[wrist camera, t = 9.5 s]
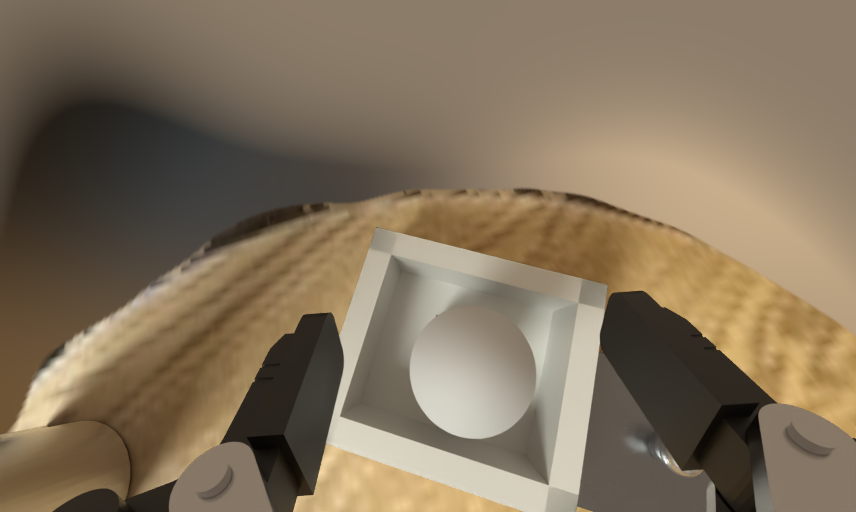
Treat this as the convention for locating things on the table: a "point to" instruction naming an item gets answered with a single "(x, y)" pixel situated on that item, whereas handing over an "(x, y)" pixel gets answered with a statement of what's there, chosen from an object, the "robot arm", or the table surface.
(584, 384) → the bin
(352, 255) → the table surface
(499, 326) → the knob
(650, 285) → the table surface
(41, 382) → the table surface
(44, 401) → the table surface
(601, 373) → the stud plate
